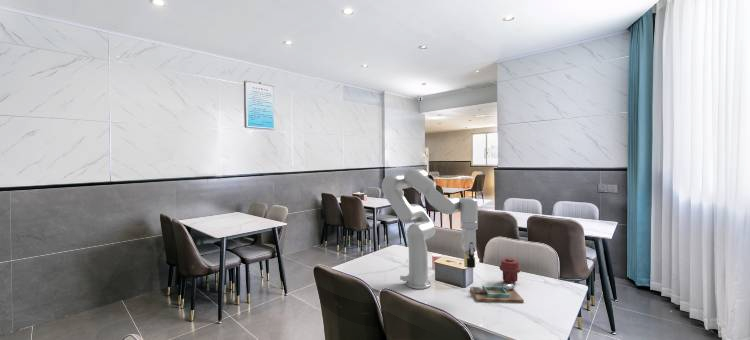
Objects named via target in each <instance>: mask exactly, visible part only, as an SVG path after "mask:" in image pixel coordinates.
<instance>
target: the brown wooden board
mask: <svg viewBox="0 0 750 340" xmlns="http://www.w3.org/2000/svg"><path fill="white" fill-rule="evenodd" d="M470 291H471V293H472V296H474V299H475V300H476V302H478V303H480V302H481V303H491V302H492V303H516V304H517V303H521V304H522V303H524V301H525V299H523V297H521V295H520V294H519V293H518V292H517V291H516V289H515V288H514V289H512V290H509V291H508V292H507V291H506V290H505V289H504V287H502V286H495V285H494V286H493V285H491V286H490V285H488V286H487V285H482V286H470Z"/></svg>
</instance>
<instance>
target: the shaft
mask: <svg viewBox="0 0 750 340" xmlns="http://www.w3.org/2000/svg"><path fill="white" fill-rule="evenodd" d="M501 287H504V289H505V290H506V291H507V292H508V291H509V290H512V289H514V290H515V285H514V283H513V284H508V283H503V284H501Z"/></svg>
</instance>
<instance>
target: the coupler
mask: <svg viewBox="0 0 750 340" xmlns="http://www.w3.org/2000/svg"><path fill="white" fill-rule="evenodd" d="M469 254H470V253H469ZM467 258H468V255H467V252H466V253H465V252H464V253H463V266H464V267H465V268H467V269H468V268H469V269H474V268H475V267H467ZM474 258H475V259H476V254H475V253H474Z"/></svg>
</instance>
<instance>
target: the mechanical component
mask: <svg viewBox="0 0 750 340" xmlns="http://www.w3.org/2000/svg"><path fill="white" fill-rule="evenodd" d="M499 270H500V271H501V272H502V280H503V282H504V281H505V282H504V283H506V282H507V283H506V284H508V283H509V284H513V285H514V282H515V283H517V282H518V273H519V274H520V273H521V272H522V271H521V270H522V268H521V267H520V261H518V260H517V259H514V258H512V257H507V258H503V259H501V260H500V265H499Z"/></svg>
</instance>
